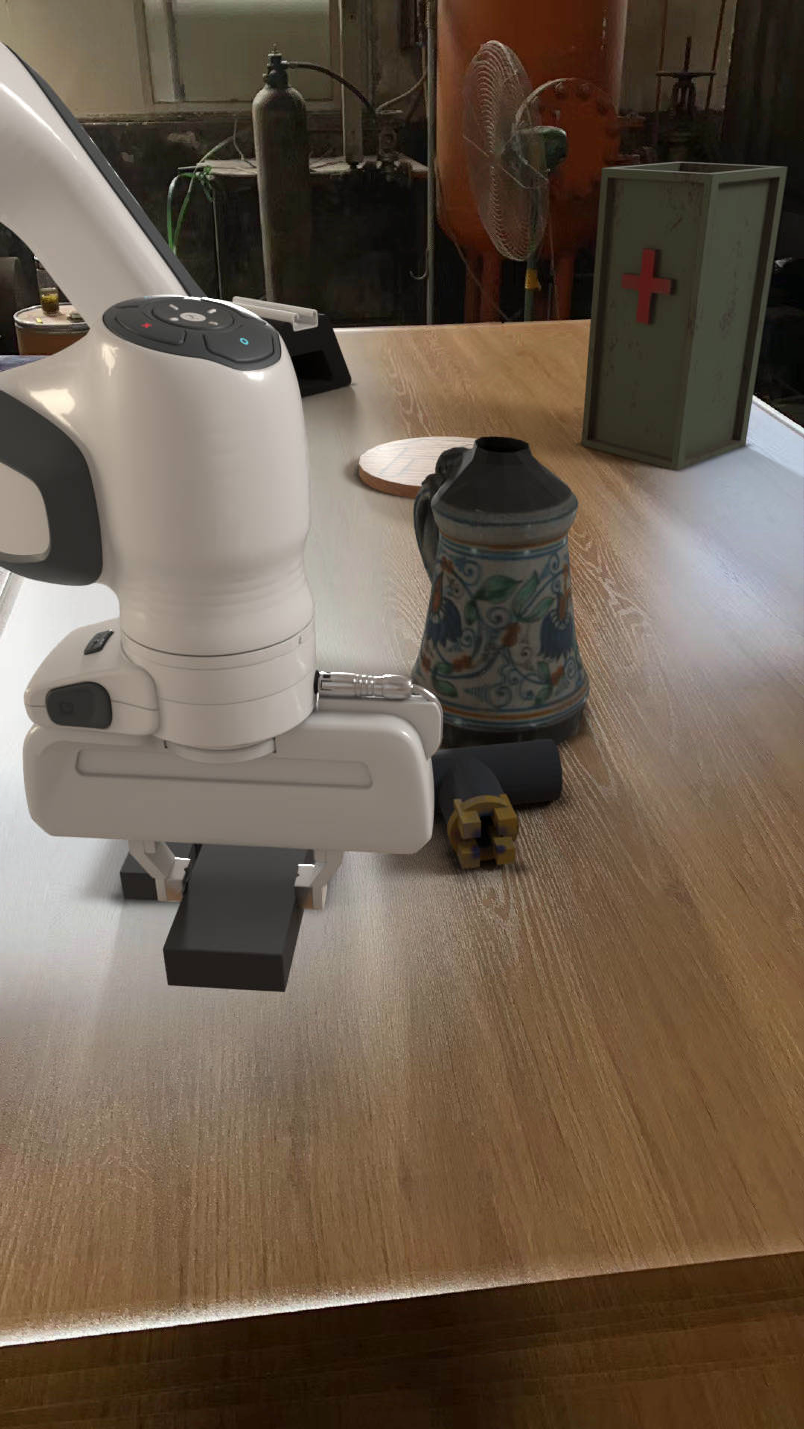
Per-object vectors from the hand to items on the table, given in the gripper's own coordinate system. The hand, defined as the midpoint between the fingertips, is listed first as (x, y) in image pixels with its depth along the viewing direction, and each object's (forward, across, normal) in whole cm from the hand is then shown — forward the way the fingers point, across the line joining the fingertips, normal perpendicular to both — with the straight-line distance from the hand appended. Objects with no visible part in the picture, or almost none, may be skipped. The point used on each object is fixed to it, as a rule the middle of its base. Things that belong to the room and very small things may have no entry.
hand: (242, 898), depth 58 cm
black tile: (+2, 0, -1) cm, 2 cm away
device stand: (+14, +30, -168) cm, 171 cm away
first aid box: (+13, -41, -131) cm, 138 cm away
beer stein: (+13, -13, -44) cm, 48 cm away
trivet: (+14, -6, -115) cm, 116 cm away
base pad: (+13, +6, -23) cm, 27 cm away
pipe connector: (+13, -12, -25) cm, 31 cm away
